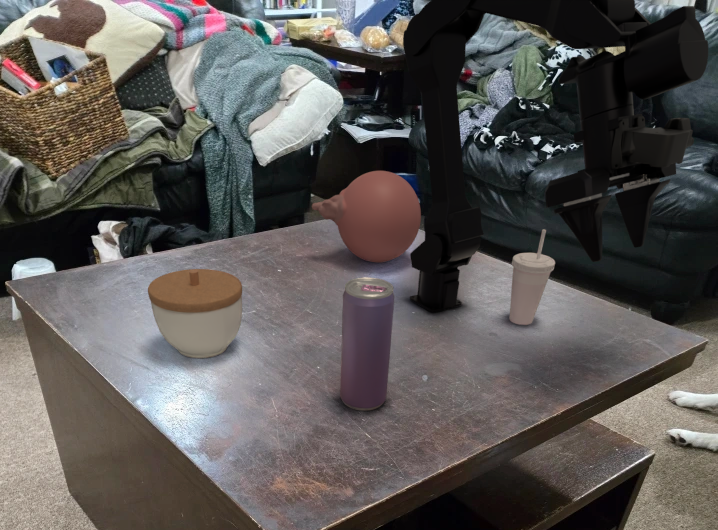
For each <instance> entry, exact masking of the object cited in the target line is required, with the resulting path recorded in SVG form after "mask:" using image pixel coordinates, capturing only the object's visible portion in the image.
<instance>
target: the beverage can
mask: <svg viewBox="0 0 718 530" xmlns="http://www.w3.org/2000/svg"><path fill="white" fill-rule="evenodd" d="M395 299H396V298H395V293H394V286H393V284H392V283H391V282H389V281H387V280H385V279H383V278H378V277H358V278H357V277H356V278H353V279H350V280H348V281H347V282H346V283H345V284H344V290H343V294H342V313H341V314H342V315H341V347H340V348H341V349H340V384H339V385H340V386H339V397H340V399H341V401H342V402H343V404H344V405H345V406H346V407H348V408H350V409H353V410H355V411H361V412H366V411H368V412H369V411H373V410H376V409H379V408H380V407H381V406H383V404H384V403H385V402H386V400H387V395H388V383H389V372H390V371H389V370H390V369H389V368H390V359H391V345H392V334H393V321H394V309H395Z"/></svg>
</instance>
